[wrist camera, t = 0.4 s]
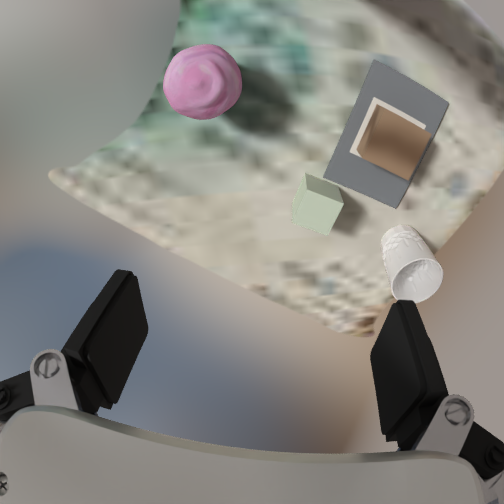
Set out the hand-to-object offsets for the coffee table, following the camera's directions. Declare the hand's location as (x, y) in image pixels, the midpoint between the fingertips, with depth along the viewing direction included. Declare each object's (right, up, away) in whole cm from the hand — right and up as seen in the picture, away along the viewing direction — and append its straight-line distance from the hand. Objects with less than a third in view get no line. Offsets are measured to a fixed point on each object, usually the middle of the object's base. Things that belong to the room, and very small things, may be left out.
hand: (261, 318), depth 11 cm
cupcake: (-5, +25, +25) cm, 35 cm away
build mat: (+18, +18, +26) cm, 36 cm away
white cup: (+23, +4, +35) cm, 42 cm away
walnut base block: (+18, +17, +26) cm, 36 cm away
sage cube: (+9, +10, +32) cm, 35 cm away
